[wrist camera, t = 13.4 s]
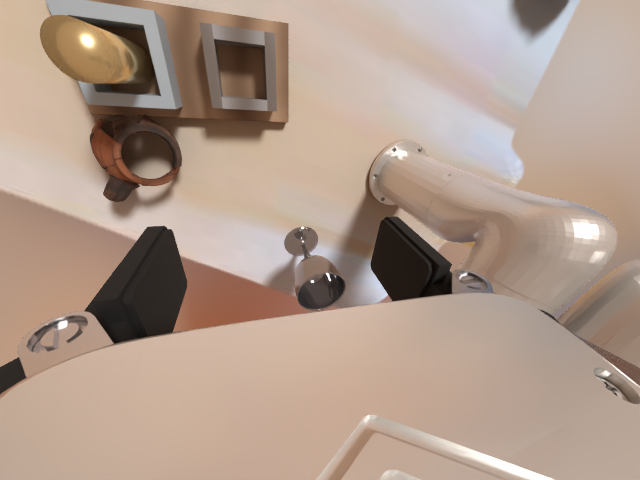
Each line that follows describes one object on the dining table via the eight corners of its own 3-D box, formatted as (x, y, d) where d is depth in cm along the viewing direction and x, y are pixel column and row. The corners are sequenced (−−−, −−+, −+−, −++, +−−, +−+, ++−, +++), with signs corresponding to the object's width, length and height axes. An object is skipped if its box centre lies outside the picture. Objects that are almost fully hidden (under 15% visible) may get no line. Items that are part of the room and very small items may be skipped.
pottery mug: (97, 91, 29) (114, 98, 25) (176, 132, 37) (200, 142, 32) (68, 181, 30) (79, 203, 26) (150, 202, 38) (169, 221, 34)
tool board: (286, 26, 30) (293, 17, 26) (286, 121, 36) (292, 125, 32) (49, -12, 24) (10, -31, 20) (96, 112, 30) (74, 116, 26)
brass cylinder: (148, 42, 27) (98, 19, 17) (159, 84, 29) (119, 85, 19) (106, 38, 26) (26, 10, 16) (120, 82, 28) (58, 81, 18)
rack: (164, 19, 26) (153, 10, 23) (182, 106, 30) (175, 109, 27) (69, 5, 24) (42, -7, 20) (104, 102, 28) (87, 104, 25)
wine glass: (277, 232, 46) (291, 284, 34) (316, 220, 47) (342, 266, 35) (288, 261, 51) (303, 316, 39) (322, 250, 52) (348, 300, 40)
